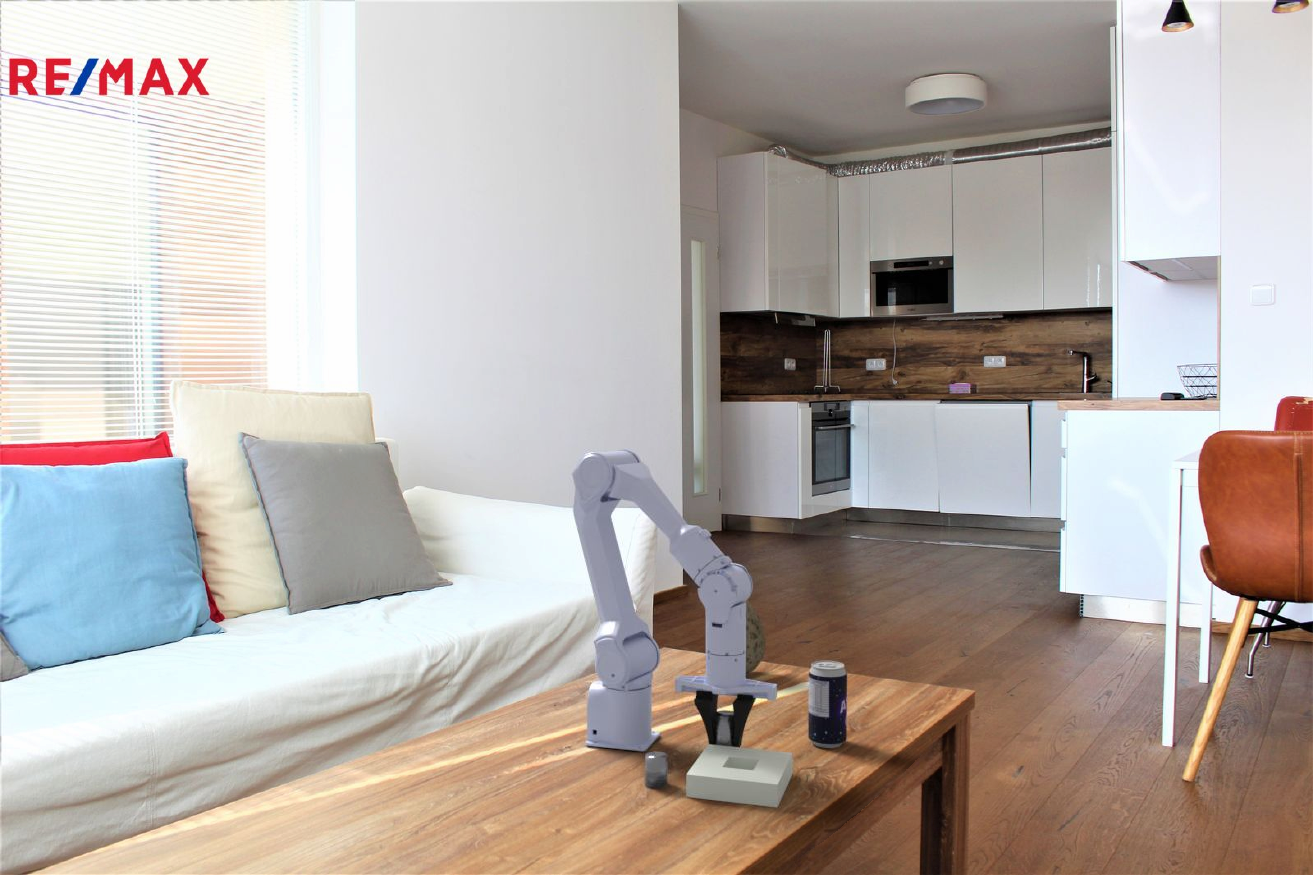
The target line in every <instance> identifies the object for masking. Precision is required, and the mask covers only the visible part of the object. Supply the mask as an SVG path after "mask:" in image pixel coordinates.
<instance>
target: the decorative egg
mask: <svg viewBox="0 0 1313 875" xmlns="http://www.w3.org/2000/svg"><path fill="white" fill-rule="evenodd" d="M744 602H746V676H747V675H750V674H751V673H753V672H754V671H755V670H756V669H757V668H758V667H759V665H760V664H761V662H762V660H763V658H764V655H765V651H766V635H765V629H764V626H763V623H762V620H761V618H760V617H759V614H758V613H757V611H756V609H755V608H754V607H753V605H752V604H751V603H750V602H749V601H748V599H747V600H746V601H744ZM744 602H743V603H744ZM741 604H742V603H741ZM736 606H737V605H736Z"/></svg>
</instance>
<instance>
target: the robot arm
mask: <svg viewBox="0 0 1313 875" xmlns="http://www.w3.org/2000/svg"><path fill="white" fill-rule="evenodd" d="M571 475H572V479H573V483H574V487H575V490H574V498H573V506H572V508H573V509H572V513H573V517H574V522H575V525H576V526H575V527H576V530H577V533H578V534H577V535H578V536H579V537H578V538H579V541H580V546H581V548H582V553H583V554H582V555H583V556H584V562H585V565H586V570H587V573H588V574H587V575H588V578H589V582H590V585H591V589H592V593H593V597H594V600H595V605H596V610H597V613H598V616H599V621H600V626H599V629H598V631H597V633H596V635H595V637H594V639H593V644H594V648H595V656H594V670H595V673H596V675H597V677H598V679H599V680H595V681H593V682H592V683H591V684H590V686H589V690H588V693H587V697H586V698H587V700H586V741H585V742H584V743H585V744H584V745H585V746H590V747H599V748H608V749H614V750H615V749H616V750H617V749H618V750H627V751H634V752H636V751H637V752H646V751H647V750H648V749H649V748H650V747H651V746H652V745H653V743H654V742H655V741H657V739H658V738H659V737H660V735H661V733H660V731H655V730H654V731H653V730H652V722H653V721H652V710H653V708H652V707H653V706H652V705H653V704H652V703H653V702H652V700H653V699H652V698H653V696H652V691H653V690H652V689H653V688H652V684H653V678H654V677H653V676H654V675H653V673H654V672H655V671H656V670H657V668H658V667H659V665H660V661H661V650H660V648H659V645H658V642H656V640H655V639H654V638H653V636H652V635H651V632H650V628H649V625H648V623H647V622H645V621H644V620H643V619H641V617H639V616H638V615H637V613H636V609H635V605H634V601H633V598H632V594H631V589H630V586H629V581H628V577H627V574H626V570H625V566H624V561H623V558H622V554H621V551H620V546H619V542H618V539H617V535H616V531H615V527H614V523H613V518H612V515H613V512H614V511H615V509H616V508H617V507H618V505H619V504H620V501H621V500H624V501H628V502H633V503H634V504H635V505H636V506H637V507H638V508H639V509H640V510H641V511H642V512H643V513H644V514H645V515H646V516H647V517H648V518H649V519H650V520H651V522H652V523H653V524H654V525H655V526H656V527H657V528H658V529H659V530H660V531H661V532H662V533H663V534H664V535H665V536H666V537H667V538H668V539H669V548H668V549H669V553H670V554H671V555H672V556H673V558H674V559H675V560H676V561H677V562H678V564H679V565H680V566H681V567H682V568H683V570H685V572H686V574H688V576H689V577H690V578H691V579H692V581H694V583H695V584H696V585H697V586H698V588H697V594H698V598H699V601H700V602H701V603H702V606H703V607H704V609H705V610H704V611H705V613H704V614H705V615H704V616H705V675H695V676H693V675H691V676H690V675H678V676H677V677H676V678H675V679H674V692H675V693H677V694H678V693H679V694H680V693H681V694H682V693H683V692H685V693H694V694H695V697H694V699H693V701H694V706H695V707H696V709H697V711H698V712H699V716H700V717H701V719H702V723H703V724H704V728H705V732H706V735H707V740H708V744H711V745H715V712H717V711H718V702H719V696H730V697H736V698H735V699H734V701H733V702H732V711H733V712H734V747H740V748H741V746H742V744H743V736H744V731H745V727H746V724H747V721H748V718H749V716H750V713H751V710H752V708H753V706H754V704H755V702H756V700H757V699H764V700H767V701H769V702H770V701H771V702H775V701H776V699H777V697H778V684H777V683H771V682H766V681H759V680H755V679H749V678H746V676H747V675H746V602H744V601H746V600H747V601H748V600H749V598H750V597H751V595H752V592H753V588H754V585H753V584H754V583H753V579H752V576H751V574H750V573H749V571H748V569H747V568H746V567H745V566H744V565H742V564H740V563H734V562H732V561H733V560H732V559H731V558H730V556H729V555H725V554H724V553H723V552H722V551H721V550H720V548H719V547H718V546H717V545H716V544H715V543H714V542H713V540H712V539H711V537H712V533H711V532H709V530H708V529H707V528H704V529H703V528H702V527H701V526H699V525H690V524H688V523H687V522H686V520H685V519H684V518H683V517H682V515H681V514H680V512H679V511H678V510H677V509H676V507H675V506H674V505H673V503H672V502H671V501H670V499H669V498H668V497H667V495H666V494H665V493H664V492H663V490H662V488H660V486H659V485H658V483H657V482H656V481H655V480H654V478H653V476H652V474H651V471H650V467H649V466H648V465H647V464H646V463H644V461H642V460H641V459H640V457H639V456H638V455H637V454H636V452H634V451H632V450H631V449H618V450H615V451H603V452H602V451H601V452H598V451H597V452H596V451H592V452H588V453H586V454H585V455H583V456H582V457H581V459H580V460H579V462H578V463H577V465H576V467H575V468H574V469H573V471H572V473H571ZM743 602H744V603H743ZM741 603H742V604H741ZM736 605H737V606H736Z"/></svg>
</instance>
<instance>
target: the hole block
mask: <svg viewBox="0 0 1313 875" xmlns="http://www.w3.org/2000/svg"><path fill="white" fill-rule="evenodd" d="M793 764H794V757H793V752H788V751H787V752H786V751H778V750H770V749H760V748H759V749H757V748H749V747H741V746H740V747H731V746H721V745H711V744H709V743H708V744H707V745H706V747H705V748H704V749H703V751H702V753H700V755H699V756H698V758H697V759H696V761H695V762H693V764H692V766H691V767H690V769H689V770H688V771H687V773H686V777H685V778H686V780H685V781H686V783H685V786H686V787H685V789H686V791H685V793H686V794H685V795H686V798H693V799H701V800H710V801H711V800H712V801H718V802H726V803H727V802H728V803H734V804H742V805H744V804H745V805H754V806H761V807H768V808H769V807H770V808H779V804H780V803H781V800H782V798H783V796H784V794H785V791H786V789H787V787H788V785H789V783H790V781H791V778H792V776H793V774H794V773H793V770H794V769H793V768H794V767H793Z"/></svg>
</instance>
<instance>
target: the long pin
mask: <svg viewBox="0 0 1313 875" xmlns="http://www.w3.org/2000/svg"><path fill="white" fill-rule="evenodd" d="M715 745H721V746H731V747H734V712H733V710H726V709H724V710H723V709H722V710H717V712H715Z"/></svg>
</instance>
